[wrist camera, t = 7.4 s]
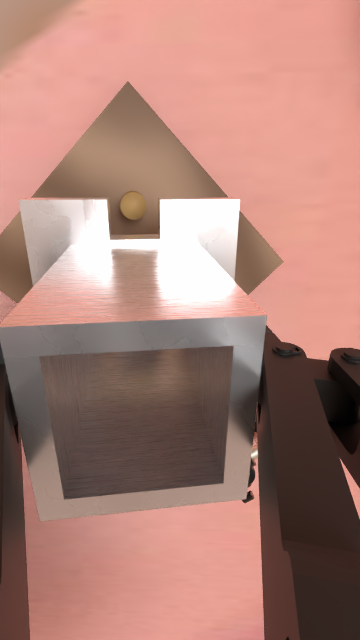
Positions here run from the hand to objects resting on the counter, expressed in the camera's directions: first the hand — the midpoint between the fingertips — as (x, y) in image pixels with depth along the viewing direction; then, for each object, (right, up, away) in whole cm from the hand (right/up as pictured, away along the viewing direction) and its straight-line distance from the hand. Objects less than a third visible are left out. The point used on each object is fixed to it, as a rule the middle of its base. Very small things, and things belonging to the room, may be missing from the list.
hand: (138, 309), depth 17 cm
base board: (-1, +4, +10) cm, 11 cm away
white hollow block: (0, +1, +2) cm, 2 cm away
